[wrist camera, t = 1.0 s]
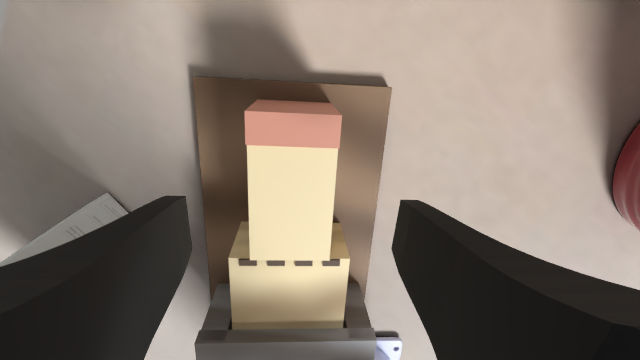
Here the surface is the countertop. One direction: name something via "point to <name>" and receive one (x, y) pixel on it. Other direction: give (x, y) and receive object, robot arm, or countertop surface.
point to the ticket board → (286, 275)
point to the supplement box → (72, 227)
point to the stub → (291, 178)
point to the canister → (628, 180)
